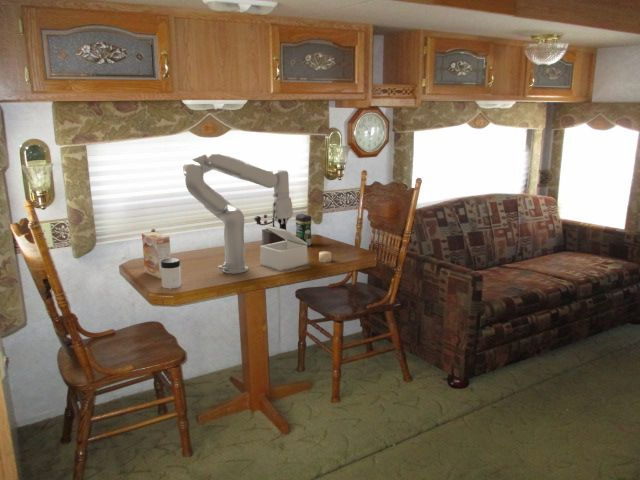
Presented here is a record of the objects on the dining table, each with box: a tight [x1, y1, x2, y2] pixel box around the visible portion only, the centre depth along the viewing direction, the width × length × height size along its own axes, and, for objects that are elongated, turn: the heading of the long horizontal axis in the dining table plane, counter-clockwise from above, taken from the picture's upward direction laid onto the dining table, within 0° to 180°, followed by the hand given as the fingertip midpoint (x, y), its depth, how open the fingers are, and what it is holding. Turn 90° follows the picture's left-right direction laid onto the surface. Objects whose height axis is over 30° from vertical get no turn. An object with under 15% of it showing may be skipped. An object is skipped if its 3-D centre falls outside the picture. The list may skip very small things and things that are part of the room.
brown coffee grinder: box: [253, 215, 286, 246], centre depth 315 cm, size 16×11×18 cm
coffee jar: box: [295, 213, 312, 247], centre depth 317 cm, size 10×8×19 cm
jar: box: [161, 257, 182, 290], centre depth 242 cm, size 9×8×12 cm
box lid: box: [263, 224, 309, 247], centre depth 275 cm, size 19×16×1 cm
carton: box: [259, 240, 308, 272], centre depth 276 cm, size 18×16×10 cm
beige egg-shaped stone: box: [318, 251, 332, 264], centre depth 284 cm, size 6×6×4 cm
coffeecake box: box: [141, 231, 172, 279], centre depth 260 cm, size 15×7×20 cm, turn 45°
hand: (283, 231), depth 273 cm, fingers closed
